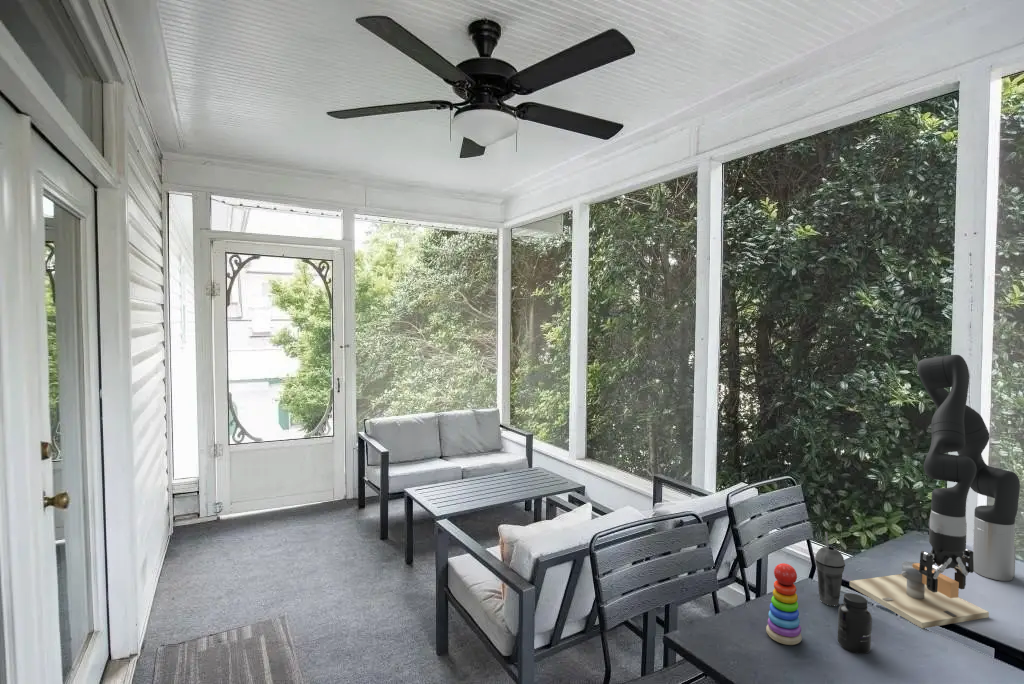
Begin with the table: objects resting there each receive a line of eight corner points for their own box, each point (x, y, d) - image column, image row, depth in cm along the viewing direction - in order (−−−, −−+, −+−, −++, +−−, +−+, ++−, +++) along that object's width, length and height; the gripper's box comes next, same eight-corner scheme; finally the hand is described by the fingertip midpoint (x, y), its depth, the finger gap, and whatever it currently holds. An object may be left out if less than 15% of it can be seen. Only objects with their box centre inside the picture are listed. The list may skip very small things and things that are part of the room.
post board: (909, 577, 161) (910, 556, 160) (988, 617, 139) (989, 593, 139) (849, 585, 156) (850, 564, 156) (922, 628, 134) (922, 603, 134)
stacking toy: (758, 631, 133) (760, 559, 133) (781, 624, 136) (783, 554, 136) (785, 649, 126) (786, 573, 125) (809, 642, 129) (810, 567, 128)
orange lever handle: (892, 572, 150) (893, 559, 150) (918, 570, 151) (918, 557, 151) (940, 599, 136) (940, 584, 135) (968, 596, 137) (968, 581, 137)
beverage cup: (850, 609, 143) (851, 537, 143) (823, 609, 144) (824, 537, 143) (834, 595, 151) (835, 526, 150) (808, 595, 151) (810, 526, 150)
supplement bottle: (871, 658, 123) (872, 608, 122) (837, 648, 126) (838, 600, 126) (870, 643, 129) (871, 595, 128) (837, 634, 132) (838, 587, 132)
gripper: (956, 522, 143) (954, 580, 144) (911, 525, 141) (909, 584, 141) (985, 533, 135) (983, 594, 136) (938, 537, 133) (936, 599, 134)
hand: (945, 589), depth 139 cm, fingers open, 8 cm apart
